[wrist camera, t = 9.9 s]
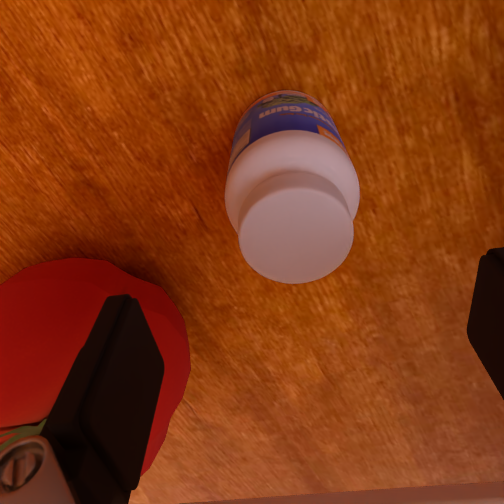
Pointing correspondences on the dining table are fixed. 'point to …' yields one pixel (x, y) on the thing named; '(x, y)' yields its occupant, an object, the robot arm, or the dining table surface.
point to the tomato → (76, 340)
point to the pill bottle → (291, 189)
